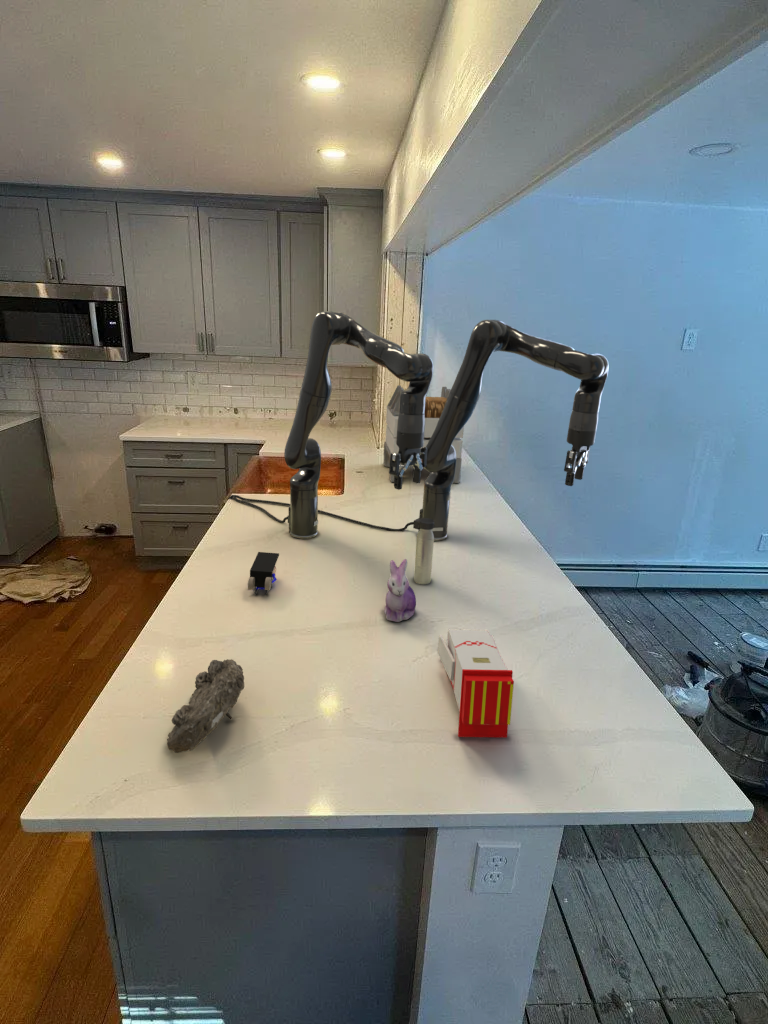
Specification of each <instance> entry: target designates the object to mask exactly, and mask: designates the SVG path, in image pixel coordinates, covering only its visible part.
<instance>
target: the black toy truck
mask: <svg viewBox="0 0 768 1024" xmlns="http://www.w3.org/2000/svg"><path fill="white" fill-rule="evenodd" d="M279 556H280V553H277V552H265V551H258V552H257V554H256V556H255V558H254V561H253V562H252V565H251V568H250V569H249V578H248V580H247V590H249V591H253V594H254V595H257V594H258V592H259V590H264V591H265V592H264V595H265V596H266V595H268V593H269V591H271V589H272V588H273V584H274V583H275V582H276V581H277V577H276V573H277V567H276V565H277V562H278V559H279Z"/></svg>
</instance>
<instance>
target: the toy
mask: <svg viewBox="0 0 768 1024" xmlns="http://www.w3.org/2000/svg"><path fill="white" fill-rule="evenodd" d="M446 640H447V643H446V641H445V639H444V636H443V635H442V634H439V637H438V646H437V656H438V657H439V659H440V661H441V663H442V666H443V668H444V670H445V672H446V674H447V677H448V679H449V681H450V684H451V687H452V690H453V693H454V697H455V701H456V705H457V708H458V711H459V714H458V715H459V716H458V730H457V731H458V732H457V737H458V738H508V731H509V726H510V725H511V717H512V707H513V697H514V696H513V695H514V684H515V680H514V679H513V673H514V671H513V670H512V669H508V667H507V665H506V662H505V661H504V659H503V658H502V655H501V653H500V651H499V649H498V647H497V643H496V639H495V637H494V635H493V634H491V632H490V631H489V629H467V628H466V629H465V628H463V629H461V628H460V629H459V628H448V630H447V639H446Z"/></svg>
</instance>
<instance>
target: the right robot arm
mask: <svg viewBox="0 0 768 1024" xmlns="http://www.w3.org/2000/svg"><path fill="white" fill-rule="evenodd" d="M467 343H468V344H467V347H466V350H465V354H464V357H463V360H462V363H461V364H460V367H459V370H458V372H457V374H456V377H455V379H454V382H453V384H452V386H451V387H450V390H451V391H450V393H449V395H448V398H447V400H446V403H445V406H444V408H443V411H442V413H441V416H440V418H439V421H438V423H437V426H436V428H435V430H434V432H433V434H432V436H431V438H430V440H429V442H428V444H427V445H426V447H427V465H426V467H423V469H424V470H425V471H427V472H428V473H429V474H428V476H427V477H426V478H425V480H424V482H423V493H422V496H423V497H422V506H421V508H420V509H419V516H418V518H416V519H414V520H413V521H411V522H407V523H406V524H405V526H403V527H401V528H391V527H386V526H380V525H375V524H371V523H368V522H363V521H359V520H357V519H352V518H349V517H345V516H342V515H338V514H335V513H331V512H328V511H324V510H321V509H318V514H321V515H325V516H330V517H334V518H336V519H340V520H343V521H347V522H351V523H353V524H358V525H362V526H365V527H370V528H373V529H377V530H383V531H388V532H404V531H406V530H407V529H408V528H409V527H410V526H413V527H412V528H413V529H415V530H417V533H418V532H419V530H420V528H419V527H418V521H419V519H421V518H429V519H433V520H434V528H433V529H432V532H433V535H434V542H440V541H444V540H446V539H447V538H448V525H449V517H450V516H449V514H450V504H451V494H452V493H451V491H452V485H453V484H454V483H453V481H454V476H455V468H456V451H455V449H454V447H453V446H452V445H451V444H452V442H453V440H454V438H455V437H456V435H457V434H458V433H459V431H460V430H461V429H462V428H463V426H464V427H465V425H466V424H467V423H468V421H469V420H470V418H471V417H472V415H473V414H474V411H475V409H476V407H477V404H478V402H479V400H480V397H481V392H482V381H483V375H484V371H485V368H486V366H487V364H488V362H489V359H490V358H491V356H492V354H493V353H495V352H505V353H511V354H515V355H518V356H521V357H524V358H526V359H528V360H530V361H531V362H533V363H535V364H538V365H540V366H542V367H545V368H549V369H552V370H555V371H559V372H562V373H564V374H566V375H568V376H571V377H573V378H575V379H577V380H580V383H579V387H578V389H577V390H576V391H575V394H574V397H573V403H572V410H571V414H570V417H569V422H568V429H567V436H566V442H567V444H569V445H571V446H572V447H571V449H570V450H569V449H568V450H567V451H566V456H565V462H564V468H563V471H564V472H565V473H566V475H565V481H564V485H565V486H567V487H573V486H574V483H575V480H579V481H582V480H583V478H584V472H585V468H586V467H587V465H588V463H589V458H590V451H591V447H593V446H594V444H595V441H596V436H597V435H596V434H597V430H598V423H599V412H600V406H601V400H602V394H603V392H604V389H605V385H606V382H607V379H608V375H609V367H610V366H609V361H608V359H607V358H606V356H605V355H603V354H602V353H601V354H600V353H592V354H591V353H587V352H583V351H579V350H576V349H574V348H573V347H572V346H569V345H566V344H563V343H560V342H556V341H552V340H550V339H545V338H542V337H537V336H534V335H531V334H528V333H526V332H523V331H521V330H518V329H517V328H514V326H513V327H512V326H510V325H509V324H507V323H505V322H503V321H501V320H499V319H483V320H481V321H479V322H478V323H476V324H475V326H474V328H473V329H472V331H471V333H470V336H469V340H468V342H467ZM422 462H423V459H422ZM231 495H232V496H231ZM231 495H230V496H229V497H228V498H227V499H229V500H231V499H234V498H233V496H235V497H236V498H237V499H239V500H242V501H245V502H251V503H253V502H254V503H263V504H272V505H279V506H286V507H289V506H290V503H288V502H281V501H275V500H274V501H273V500H265V499H256V498H255V499H254V498H246V497H242V496H240V495H238V494H231Z"/></svg>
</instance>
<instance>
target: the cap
mask: <svg viewBox="0 0 768 1024" xmlns="http://www.w3.org/2000/svg"><path fill="white" fill-rule="evenodd" d="M418 527H419V528H420V529H424V530H431V529H433V528H434V520H433V519H429V518H421V519H419V521H418Z"/></svg>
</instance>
